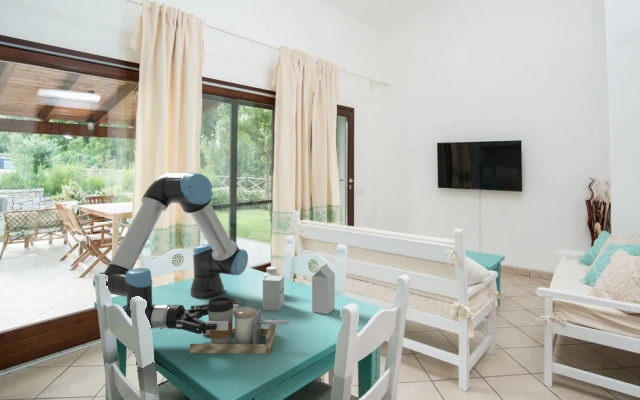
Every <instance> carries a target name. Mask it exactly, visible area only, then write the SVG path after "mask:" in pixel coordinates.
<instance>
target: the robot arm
mask: <svg viewBox="0 0 640 400" xmlns="http://www.w3.org/2000/svg"><path fill="white" fill-rule="evenodd" d="M212 190H213V185H212V183H211V181H210V179H209V178H208V177H207V176H205V175H204V174H202V173H196V172H188V173H183V172H182V173H181V172H180V173H178V172H175V173H174V172H168V173H165V174H162V175H160V176H159V177H158V178H156V179H155V180H154V181H153V182H152V183H151V185H150V186H148V188H147V189H146V191H144V195H142V198H141V200H140V201H141V203H142V204H141V206H140V207H139V209H138V211H137V213H136V215H135V216H134V218H133V220H132V221H131V224H130V226H128V229H127V231H126V233H125V235H124V236H123V238H122V240H121V242H120V243H119V246H118V247H117V249H116V251H115V252H114V255H112V258H111V261H110V262H109V264H108V265H107V267H106V269H102V270H99V272H97V273H99V274H105V275H107V276H108V282H107V281H106V286H108V289H109V290H108V291H110V294H109V295H115V296H121V297H125V298H126V304H125V305H123V306H122V307H121V308H123V309H124V311H125V312H126V313H127V315H128V316H129V317H130V318H131V310H130V300H131V298H132V297H135V296H140V297H142V298H143V299H145V300H146V301H147V307H146V309H145V314H146V316H147V318H148V320H149V322H150V325H151V328H150V329H159V330H163V329H171V330H173V329H175V330H184V331H186V332H189V333H194V334H197V335H203V334H205V333H206V330H228V321H209V320H207V321H203V320H201V319H202V317H205V316H208V310H207V308H208V307H207V306H208V304H209V303H205V304H197V305H196V304H194V305H190V308H188V309H185V307H184V305H183V304H153V280H152V273H151V270H150V269H149V268H147V267H142V268H141V267H138V268H137V267H136V268H134V267H135V265H136V263H137V261H138V259H139V258H140V255H141V253H142V252H143V249H144V247H146V244H147V242H148V240H149V238H150V237H151V234H152V232H153V230H154V228H155V226H156V224H157V222H158V221H159V219H160V216H161V215H162V213H163V212H166V211H167V209H168V207H169V206H170V205H171V204H173V203H174V204H179V206H180V207H181V208H182V210H183V212H184V213H187V214H190V215H191V217H192V219H193V220H194V222H195V223H196V225H197V227H198V230H200V232H201V233H202V235H203V237H204V239H205V240H206V241H207V243H205V244H200V245H199V244H198V245H196V246H195V247H194V248H193V254H192V256H193V257H192V258H193V261H192V262H193V280H192V283H191V287H190V290H189V291H190V295H191V297H194V298H198V299H199V298H200V299H202V298H203V299H204V298H213V297H216V296H217V297H218V296H219V295H222V294H223V293H224V292H225V289H224V288H225V285H224V284H223V280H222V277H221V274H224V275H231V276H240V275H242V274H243V273H244V272H245V270H246V269H247V266H248V262H249V254H248V251H247V250H246V249H243V248H239V246H238V244H237V243H236V242H235V241H234V240H231V239H230V237H229V235H228V234H227V232H226V229H225V228H224V226H223V224H222V222H221V221H220V218H219V217H218V215H217V213H216V212H215V210H214V208H213V206H212V204H211V202H212V196H213V191H212ZM105 278H106V277H105ZM92 285H93V288H94V289H95V281H94V278H93V281H92ZM233 306H234V307H233V314H234V311H235V310H237V309H239V304H233Z"/></svg>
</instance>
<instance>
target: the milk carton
mask: <svg viewBox="0 0 640 400" xmlns="http://www.w3.org/2000/svg"><path fill="white" fill-rule="evenodd" d="M315 271H316V273H315V274H313V275H312V276H311V294H312V295H311V299H312V300H311V301H312V302H311V312H313V313H316V314H318V313H319V314H323V315H329V314H331V313H332V312H333V311H334V310H335V303H336V301H335V300H336V297H335V296H336V295H335V294H336V291H335V289H336V283H335V282H336V278H335V277H336V276H335V275H336V273H335V272H334V271H332V269H331V268H330V267H329V266H328V263H325V264H323V265H321V266H319V267H318V268H317V269H316V270H315Z"/></svg>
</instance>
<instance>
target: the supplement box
mask: <svg viewBox="0 0 640 400" xmlns="http://www.w3.org/2000/svg"><path fill="white" fill-rule="evenodd" d="M284 305H285V276H282V275H279V276H267V277H266V278H265V279H263V280H262V310H264V311H275V312H278V311H280V310H281V309H282V308H283V306H284Z"/></svg>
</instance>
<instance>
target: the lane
mask: <svg viewBox="0 0 640 400" xmlns="http://www.w3.org/2000/svg"><path fill="white" fill-rule="evenodd" d="M271 320H272V321H276V318H271ZM202 336H210V330H206V333H205V334H202ZM232 336H235V326H232ZM264 336H265V343H259V344H235V343H231V344H211V343H191V344H189V353H190V354H241V355H242V354H248V355H249V354H252V355H253V354H259V355H261V354H271V352H272V351H271V350H272V347H273V344H274V341H275V336H276V324H269V326H267V327H266V326H262V336H261V337H264Z"/></svg>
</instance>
